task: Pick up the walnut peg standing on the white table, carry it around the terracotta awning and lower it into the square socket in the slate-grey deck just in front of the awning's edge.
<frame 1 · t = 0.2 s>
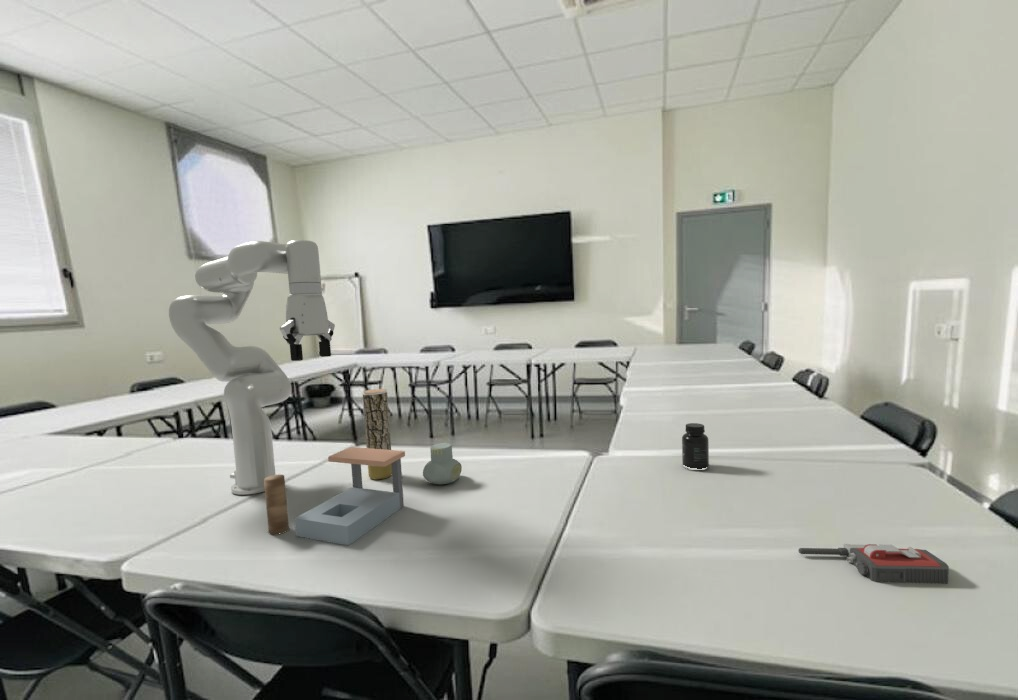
hand: (311, 358, 118), 36 cm above the table, tool pointing down, fingers open, 9 cm apart
socket deck: (351, 521, 105), on the table
air freshener: (443, 481, 128), on the table
walkie-talkie: (872, 571, 78), on the table
bark textured cylinder: (381, 476, 134), on the table
supplement bottle: (695, 468, 129), on the table
peg: (279, 530, 102), on the table
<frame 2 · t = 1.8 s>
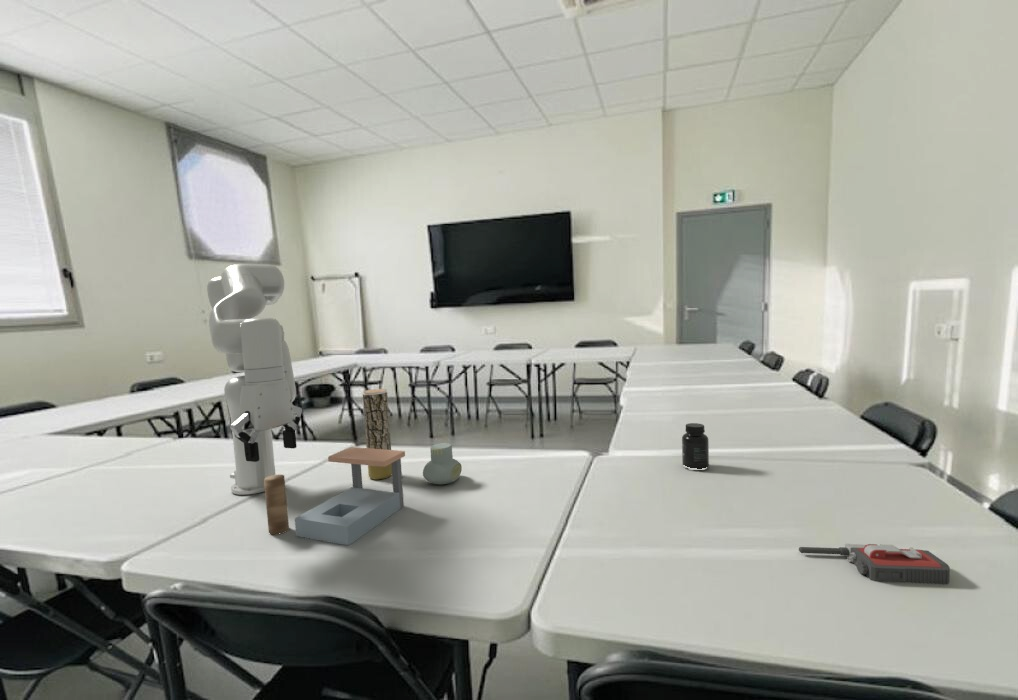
hand: (272, 454, 100), 17 cm above the table, tool pointing down, fingers open, 9 cm apart
nothing on the table moved.
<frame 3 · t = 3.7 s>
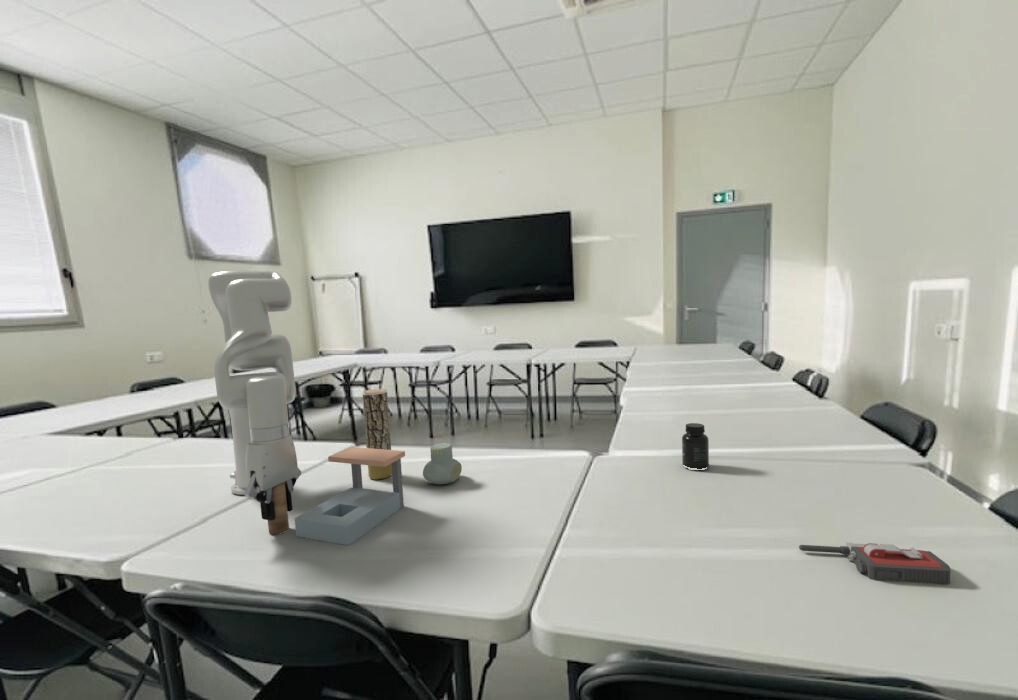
hand: (277, 513, 102), 4 cm above the table, tool pointing down, fingers closed on peg, 4 cm apart
peg: (279, 530, 102), on the table, touching gripper
everything else where it was.
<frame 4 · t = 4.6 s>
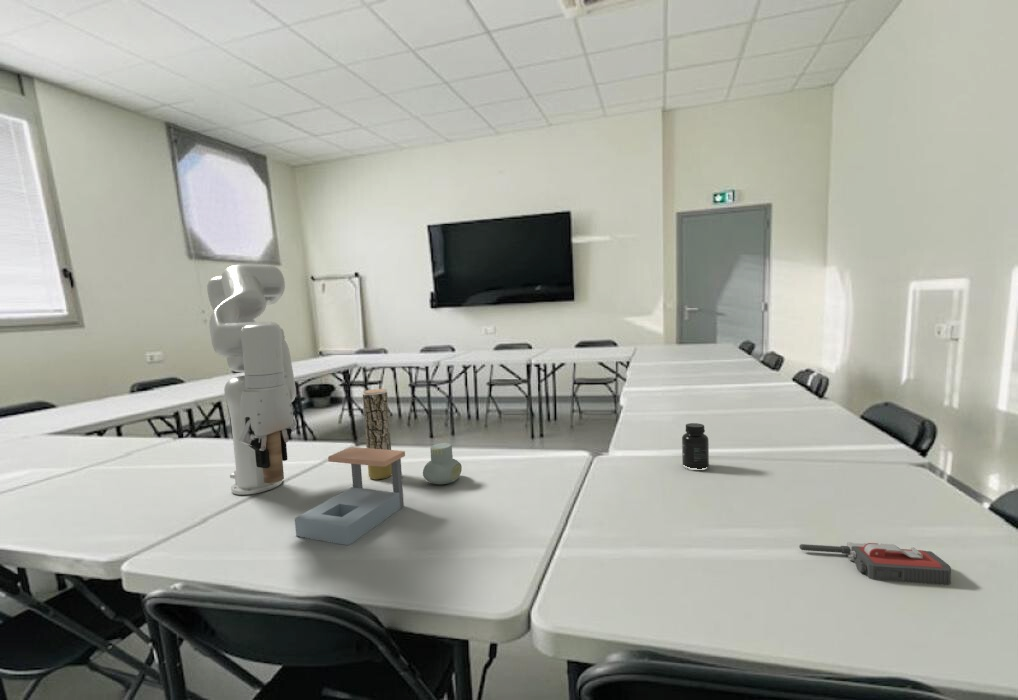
hand: (272, 462, 101), 15 cm above the table, tool pointing down, fingers closed on peg, 4 cm apart
peg: (273, 479, 102), point 11 cm above the table, touching gripper
everything else where it was.
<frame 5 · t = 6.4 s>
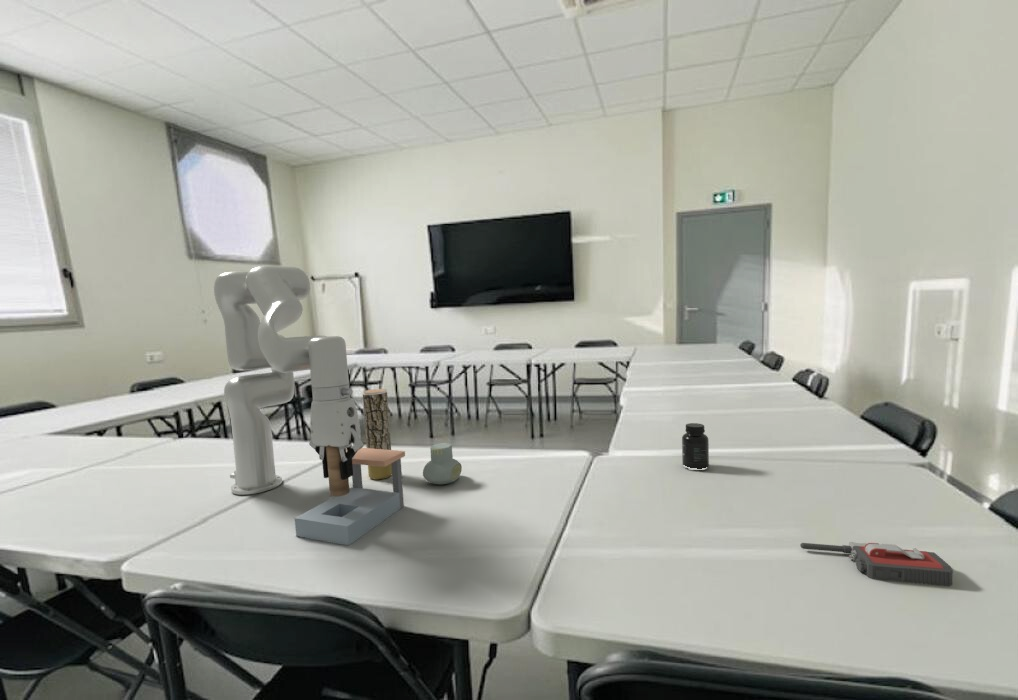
hand: (338, 475, 101), 12 cm above the table, tool pointing down, fingers closed on peg, 4 cm apart
peg: (339, 493, 101), point 8 cm above the table, touching gripper
when the fingers open (5 cm above the table, at t = 7.9 s): peg stays where it is, resting in socket deck.
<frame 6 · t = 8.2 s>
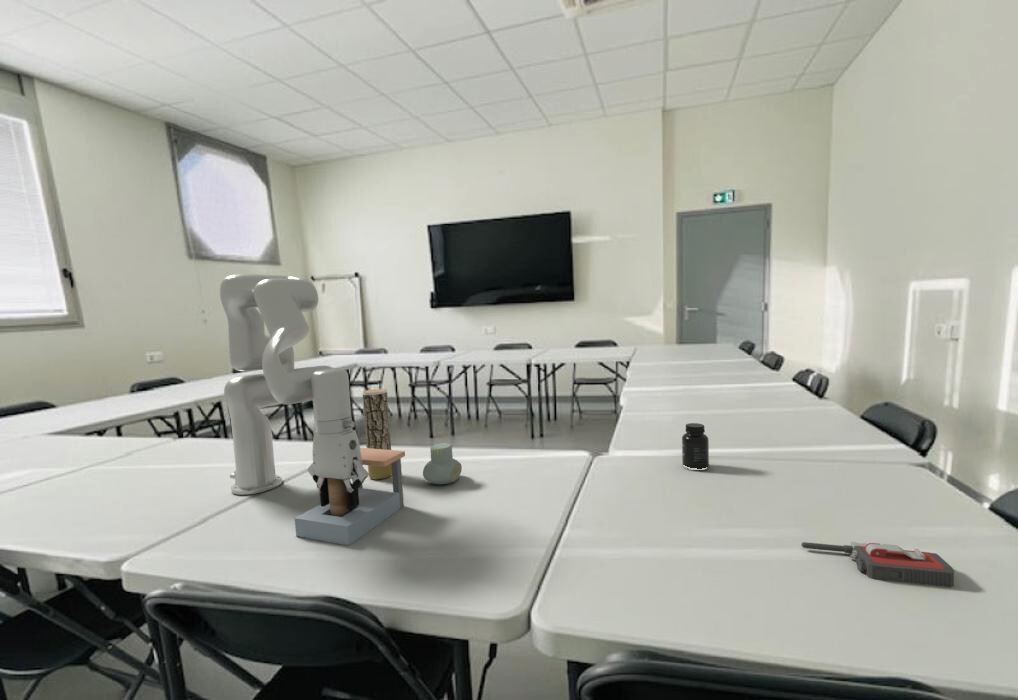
hand: (340, 505, 102), 5 cm above the table, tool pointing down, fingers open, 6 cm apart
peg: (341, 527, 102), resting in socket deck
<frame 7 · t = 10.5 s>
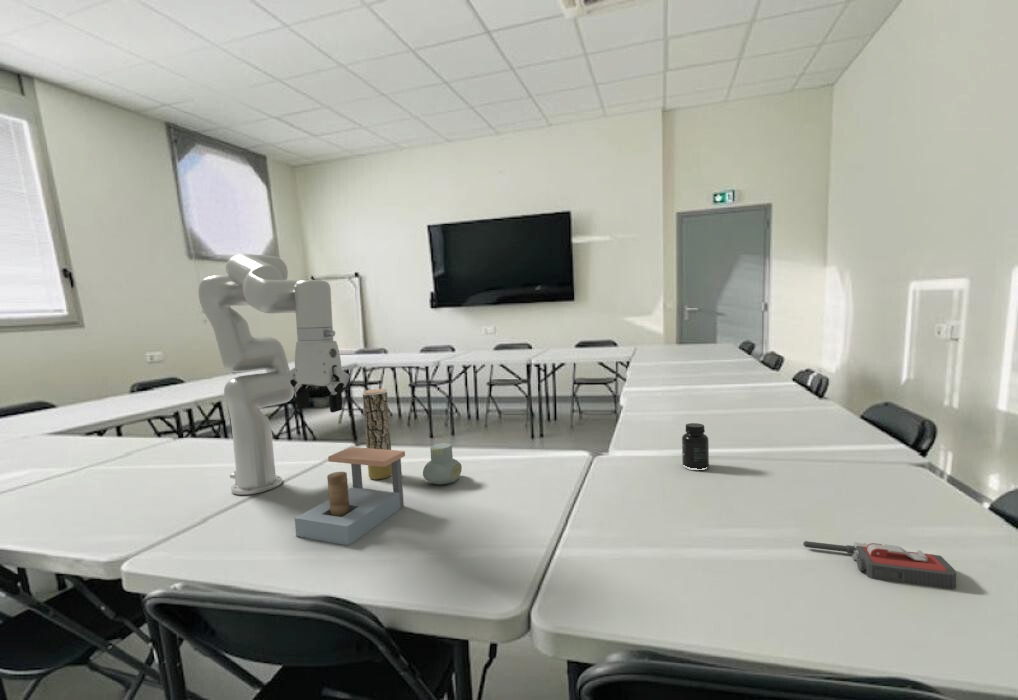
hand: (319, 409, 106), 25 cm above the table, tool pointing down, fingers open, 9 cm apart
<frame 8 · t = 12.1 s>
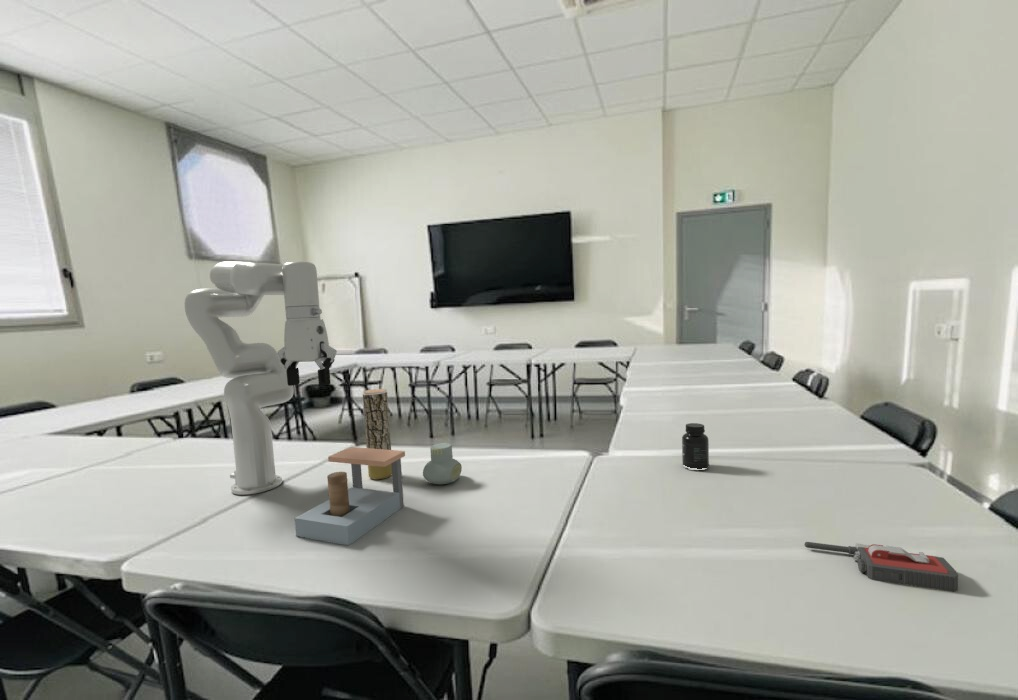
hand: (309, 385, 112), 30 cm above the table, tool pointing down, fingers open, 9 cm apart
at the end: peg 0.1 cm from the target spot on the socket deck, point 0.0 cm above the socket deck's base; peg tilted 0°; the gripper is holding nothing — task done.
